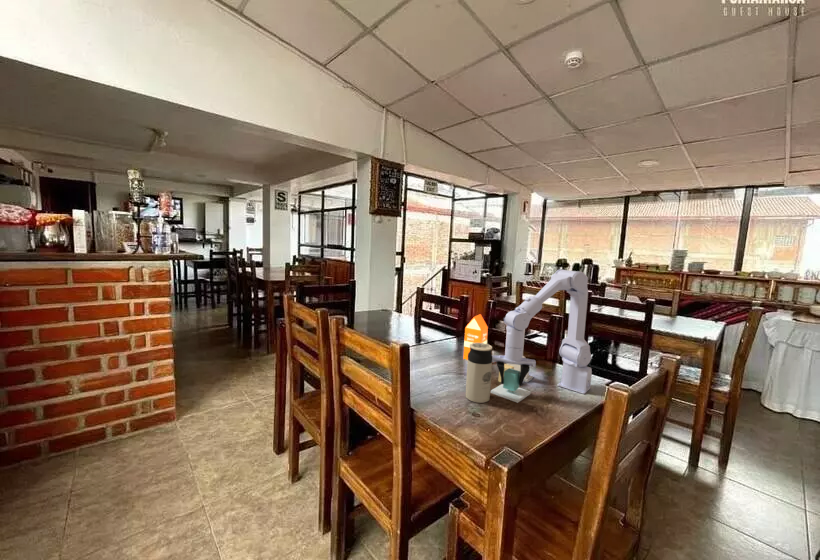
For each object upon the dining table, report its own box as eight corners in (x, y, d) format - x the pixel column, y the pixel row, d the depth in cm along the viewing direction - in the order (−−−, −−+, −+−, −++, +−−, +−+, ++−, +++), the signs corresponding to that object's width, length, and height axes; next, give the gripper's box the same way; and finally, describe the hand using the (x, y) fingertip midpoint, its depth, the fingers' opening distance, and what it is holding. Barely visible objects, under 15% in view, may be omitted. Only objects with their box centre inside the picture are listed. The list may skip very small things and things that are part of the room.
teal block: (518, 387, 114) (520, 371, 113) (514, 391, 111) (515, 374, 110) (508, 384, 117) (509, 368, 116) (503, 387, 114) (504, 371, 113)
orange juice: (486, 357, 150) (489, 315, 148) (479, 363, 143) (482, 318, 140) (470, 354, 154) (472, 312, 152) (462, 359, 147) (465, 315, 145)
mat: (530, 393, 114) (530, 391, 114) (517, 402, 107) (517, 400, 107) (504, 384, 121) (504, 382, 121) (490, 392, 114) (490, 390, 114)
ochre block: (513, 381, 124) (514, 366, 123) (508, 384, 121) (509, 369, 120) (503, 378, 127) (504, 363, 126) (498, 381, 124) (499, 366, 123)
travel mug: (461, 394, 112) (464, 343, 110) (480, 391, 115) (484, 341, 113) (473, 405, 104) (476, 350, 102) (494, 401, 107) (498, 348, 105)
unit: (532, 378, 127) (534, 361, 127) (527, 382, 124) (528, 364, 123) (508, 371, 134) (510, 354, 134) (502, 374, 131) (504, 357, 130)
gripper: (534, 344, 115) (531, 382, 116) (492, 340, 118) (489, 376, 119) (537, 351, 108) (534, 390, 109) (492, 346, 111) (490, 384, 112)
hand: (511, 383), depth 114 cm, fingers closed on teal block, 5 cm apart
